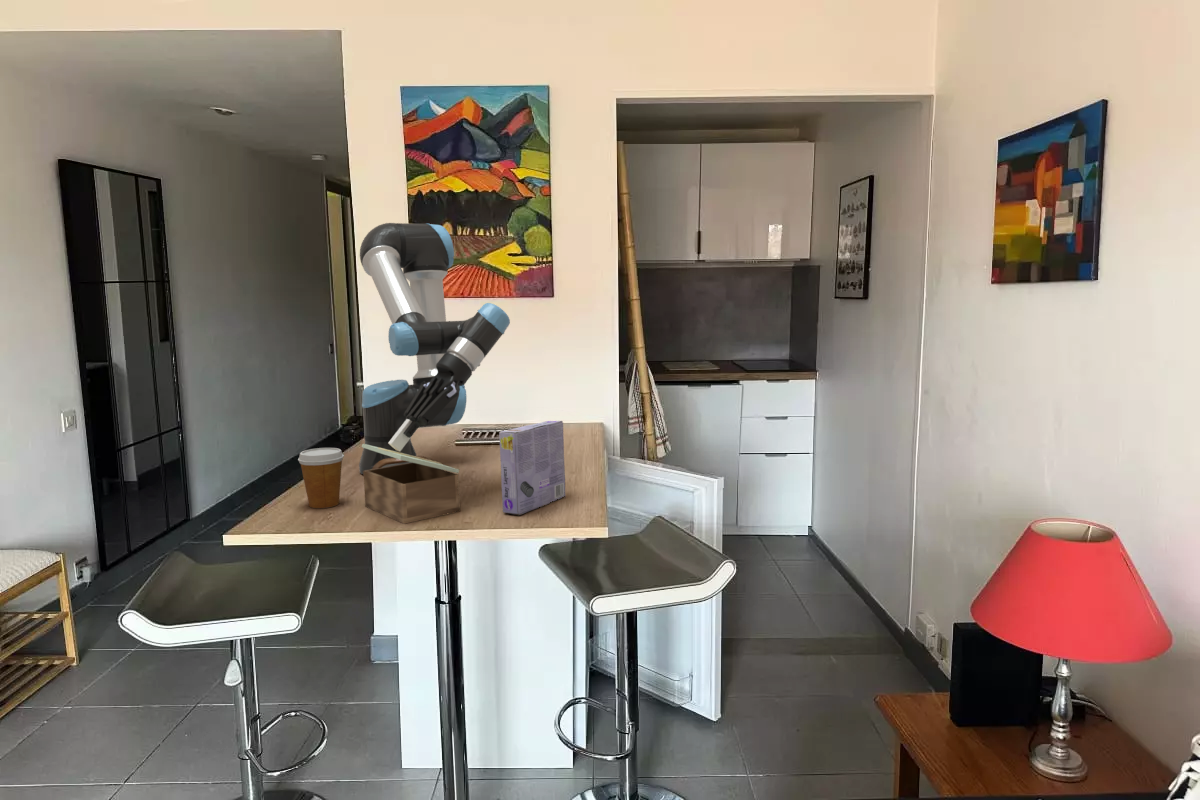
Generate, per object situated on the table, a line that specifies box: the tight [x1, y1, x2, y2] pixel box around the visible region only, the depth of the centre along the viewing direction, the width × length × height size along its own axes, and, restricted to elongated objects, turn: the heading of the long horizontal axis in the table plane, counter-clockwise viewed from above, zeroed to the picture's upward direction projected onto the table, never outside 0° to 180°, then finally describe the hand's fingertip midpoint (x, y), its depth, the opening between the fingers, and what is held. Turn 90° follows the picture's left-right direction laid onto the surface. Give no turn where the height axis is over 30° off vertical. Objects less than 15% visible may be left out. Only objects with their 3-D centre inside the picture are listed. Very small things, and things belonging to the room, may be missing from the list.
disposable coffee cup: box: [297, 447, 345, 509], centre depth 175 cm, size 10×10×12 cm
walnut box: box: [363, 462, 461, 525], centre depth 170 cm, size 18×13×8 cm
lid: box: [361, 443, 460, 474], centre depth 169 cm, size 18×14×1 cm
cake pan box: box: [498, 420, 566, 516], centre depth 172 cm, size 19×5×18 cm, turn 149°
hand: (394, 447), depth 167 cm, fingers closed
